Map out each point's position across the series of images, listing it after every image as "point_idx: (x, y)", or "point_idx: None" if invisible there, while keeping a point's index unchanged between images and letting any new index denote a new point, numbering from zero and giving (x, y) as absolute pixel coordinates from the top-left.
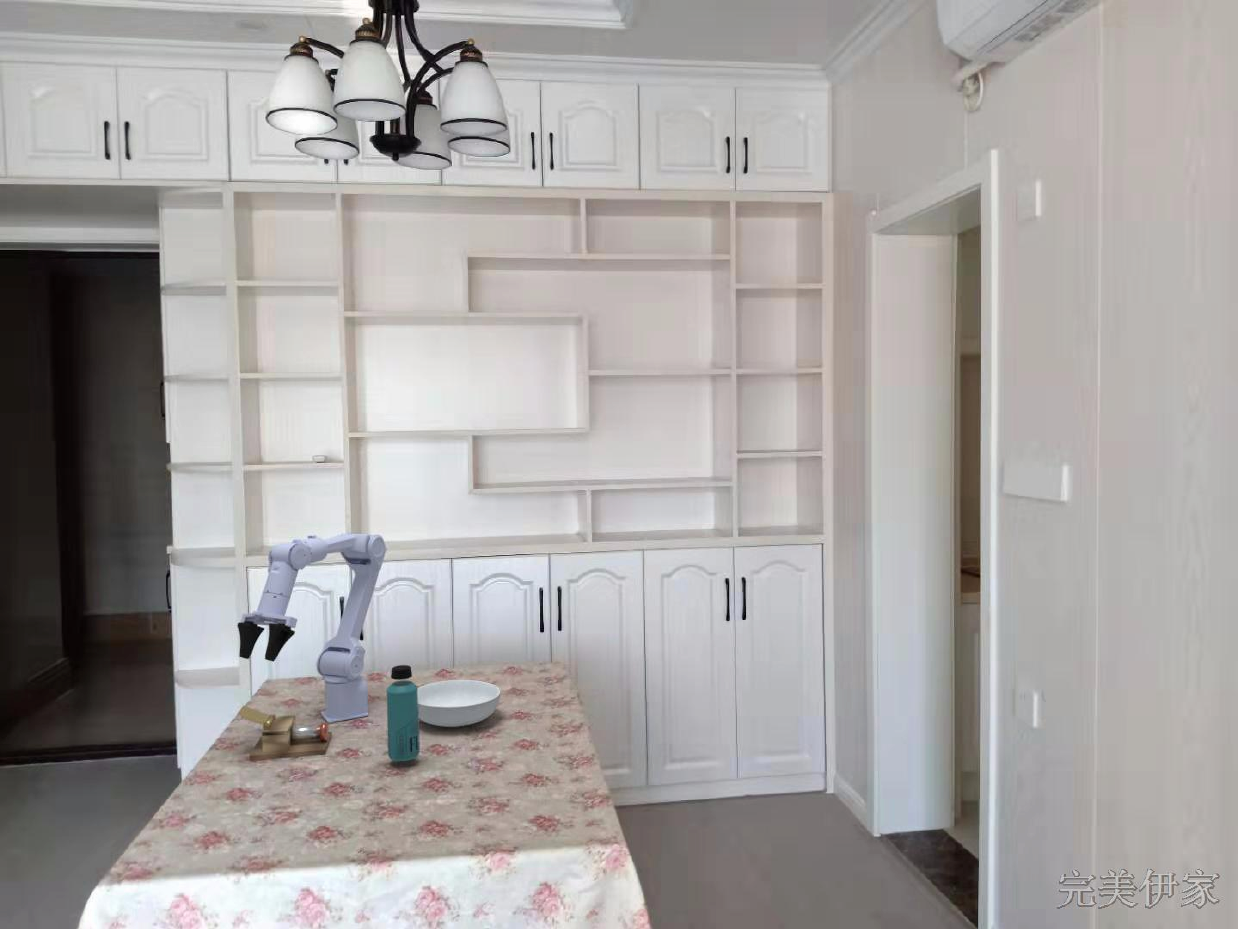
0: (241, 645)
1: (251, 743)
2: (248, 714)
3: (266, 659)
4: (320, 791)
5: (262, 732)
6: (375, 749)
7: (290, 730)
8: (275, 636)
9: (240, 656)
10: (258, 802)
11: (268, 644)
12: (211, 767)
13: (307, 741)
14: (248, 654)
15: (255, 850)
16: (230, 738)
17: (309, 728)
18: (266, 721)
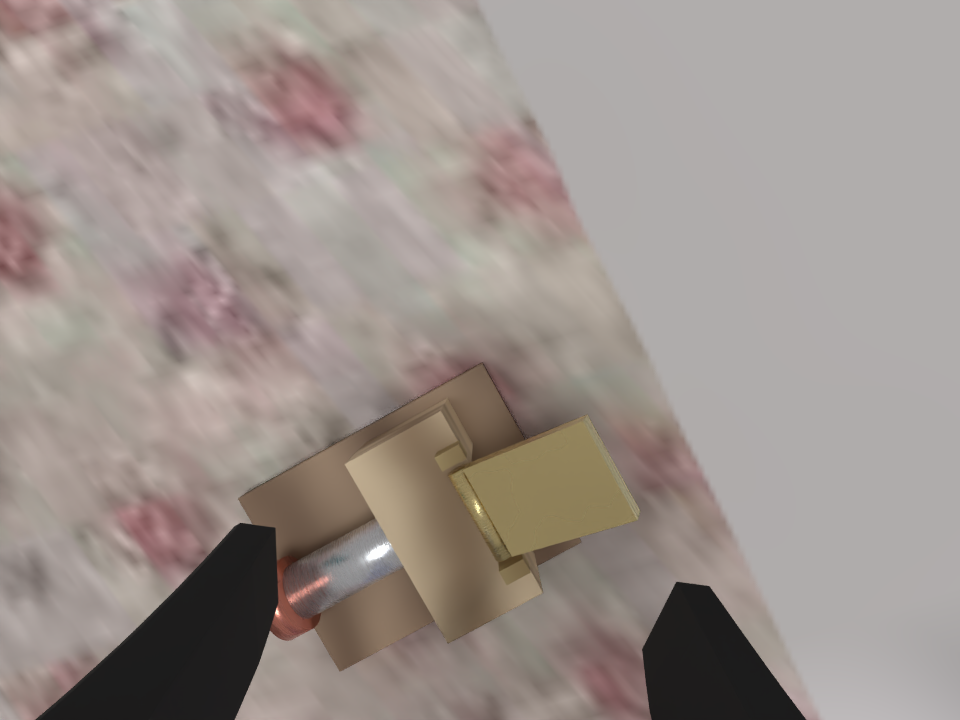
0: (766, 707)
1: None
2: (546, 453)
3: (253, 530)
4: (41, 206)
5: (440, 412)
6: (96, 590)
7: None
8: None
9: (691, 585)
10: (185, 65)
11: (149, 680)
12: (575, 268)
13: None
14: (658, 682)
15: None
16: (721, 529)
17: (325, 567)
18: (471, 484)
